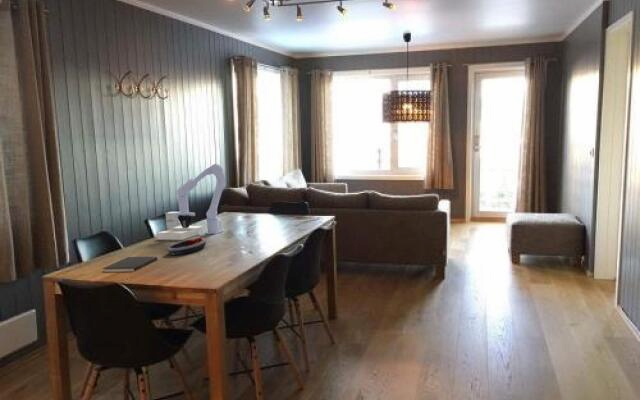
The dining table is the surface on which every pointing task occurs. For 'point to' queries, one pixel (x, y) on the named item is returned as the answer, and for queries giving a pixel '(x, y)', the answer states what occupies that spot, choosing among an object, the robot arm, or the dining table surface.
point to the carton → (177, 234)
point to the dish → (186, 246)
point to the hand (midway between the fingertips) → (185, 227)
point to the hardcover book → (129, 264)
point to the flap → (187, 227)
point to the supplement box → (172, 220)
